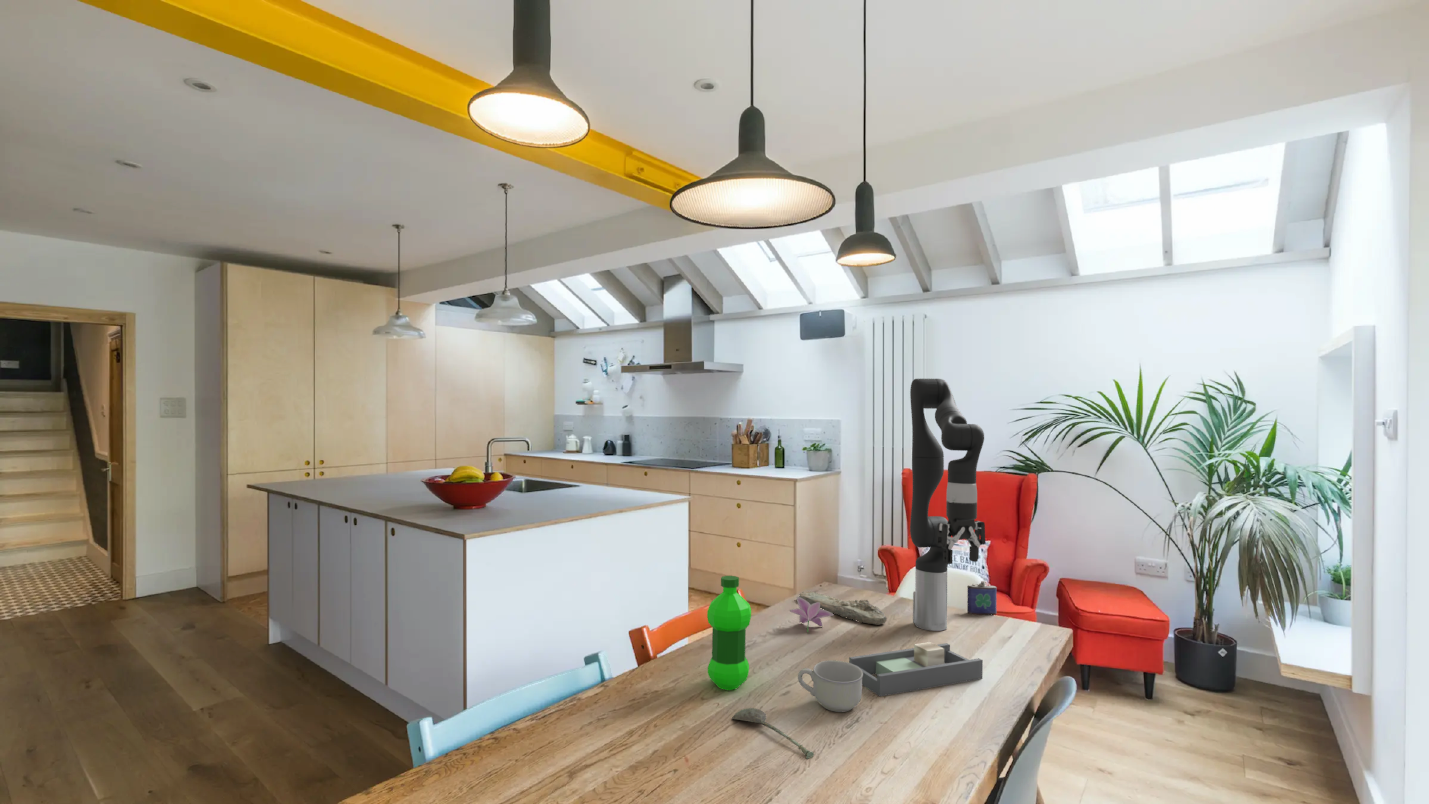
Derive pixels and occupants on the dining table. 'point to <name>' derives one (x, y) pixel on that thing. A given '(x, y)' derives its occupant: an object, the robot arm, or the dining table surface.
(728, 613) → the plastic bottle
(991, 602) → the blue clover-printed container
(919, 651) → the block
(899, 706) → the dining table surface
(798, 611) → the lily
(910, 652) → the trap lane
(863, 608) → the long grey stone
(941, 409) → the robot arm
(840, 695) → the teacup
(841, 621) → the dining table surface
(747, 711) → the soupspoon
